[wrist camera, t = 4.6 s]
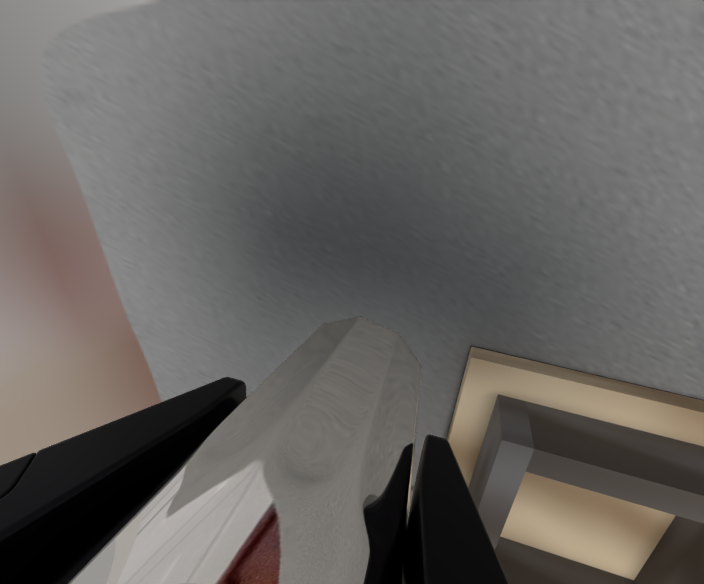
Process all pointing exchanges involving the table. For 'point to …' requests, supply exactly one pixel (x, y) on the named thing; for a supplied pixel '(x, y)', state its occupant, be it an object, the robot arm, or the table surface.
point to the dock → (581, 473)
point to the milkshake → (283, 479)
